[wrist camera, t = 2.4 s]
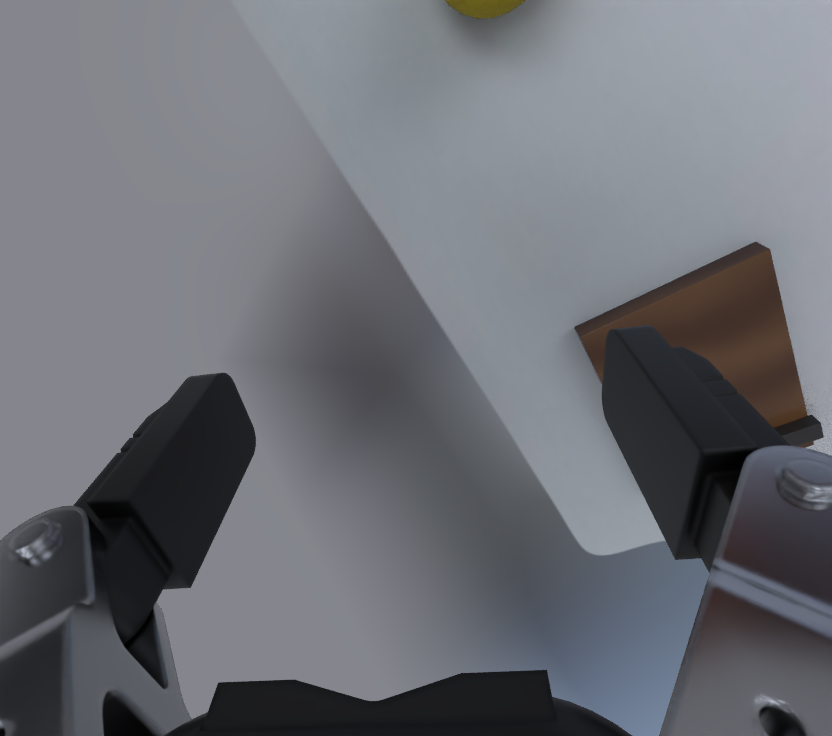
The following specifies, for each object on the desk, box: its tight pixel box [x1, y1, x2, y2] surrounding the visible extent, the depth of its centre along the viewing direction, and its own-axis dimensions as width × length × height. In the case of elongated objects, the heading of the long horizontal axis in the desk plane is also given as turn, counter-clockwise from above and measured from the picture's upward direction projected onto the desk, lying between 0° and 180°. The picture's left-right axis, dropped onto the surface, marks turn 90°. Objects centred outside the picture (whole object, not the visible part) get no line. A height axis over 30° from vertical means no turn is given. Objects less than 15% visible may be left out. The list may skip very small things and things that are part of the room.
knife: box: [774, 415, 824, 446], centre depth 36 cm, size 12×2×1 cm, turn 122°
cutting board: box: [575, 242, 814, 448], centre depth 34 cm, size 18×12×2 cm, turn 32°
